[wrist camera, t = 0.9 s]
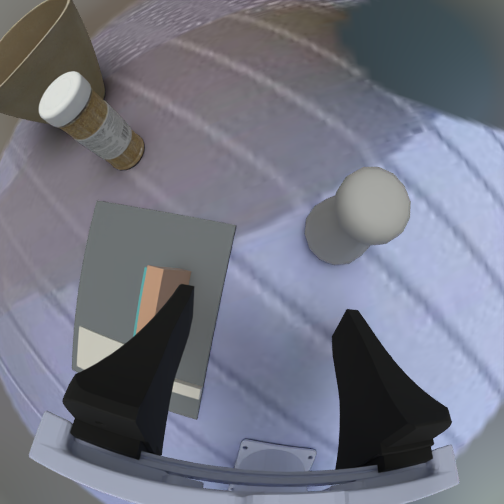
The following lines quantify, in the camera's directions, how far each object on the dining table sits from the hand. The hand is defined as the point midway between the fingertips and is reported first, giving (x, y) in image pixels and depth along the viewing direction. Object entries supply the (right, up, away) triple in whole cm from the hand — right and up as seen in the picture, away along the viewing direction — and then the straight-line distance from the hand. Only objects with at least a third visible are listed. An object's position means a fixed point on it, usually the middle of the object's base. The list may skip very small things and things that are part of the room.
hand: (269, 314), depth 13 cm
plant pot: (-24, +23, +17) cm, 37 cm away
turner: (-13, -9, +13) cm, 21 cm away
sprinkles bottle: (-15, +14, +16) cm, 26 cm away
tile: (-8, -3, +13) cm, 16 cm away
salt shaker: (+7, +4, +13) cm, 16 cm away
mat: (-12, -3, +14) cm, 19 cm away
